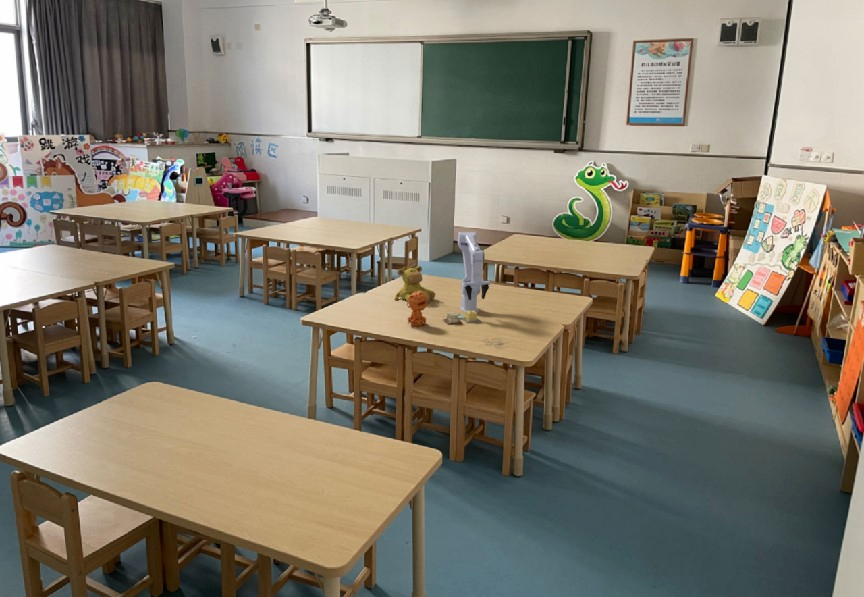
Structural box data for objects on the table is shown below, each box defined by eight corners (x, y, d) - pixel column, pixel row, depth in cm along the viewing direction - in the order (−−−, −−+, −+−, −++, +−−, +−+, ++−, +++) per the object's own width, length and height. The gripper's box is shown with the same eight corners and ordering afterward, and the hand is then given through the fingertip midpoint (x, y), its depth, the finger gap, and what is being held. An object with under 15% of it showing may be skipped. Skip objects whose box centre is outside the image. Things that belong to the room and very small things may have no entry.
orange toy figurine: (429, 327, 335) (430, 293, 330) (408, 328, 333) (408, 293, 329) (426, 321, 346) (427, 287, 341) (405, 321, 344) (405, 288, 339)
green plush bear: (421, 306, 372) (421, 273, 367) (386, 300, 384) (386, 267, 379) (439, 298, 389) (440, 266, 384) (405, 292, 401) (405, 261, 396)
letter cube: (465, 319, 349) (465, 311, 348) (473, 318, 351) (473, 310, 349) (468, 322, 345) (469, 313, 344) (476, 321, 347) (477, 312, 345)
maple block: (446, 321, 346) (446, 312, 345) (454, 320, 347) (455, 312, 346) (449, 323, 342) (450, 315, 341) (458, 322, 343) (458, 314, 342)
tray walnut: (442, 321, 347) (443, 319, 346) (456, 319, 349) (456, 318, 349) (448, 325, 340) (448, 323, 340) (461, 324, 342) (461, 322, 342)
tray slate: (461, 319, 350) (461, 317, 350) (474, 318, 353) (475, 316, 352) (467, 323, 343) (467, 321, 343) (480, 322, 346) (480, 320, 346)
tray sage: (447, 316, 355) (447, 314, 355) (460, 315, 358) (460, 313, 357) (452, 320, 348) (452, 318, 348) (465, 319, 351) (465, 317, 351)
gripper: (467, 275, 343) (466, 301, 346) (493, 274, 348) (492, 300, 351) (462, 273, 349) (461, 298, 352) (487, 272, 354) (486, 297, 357)
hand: (476, 299), depth 352 cm, fingers open, 7 cm apart
